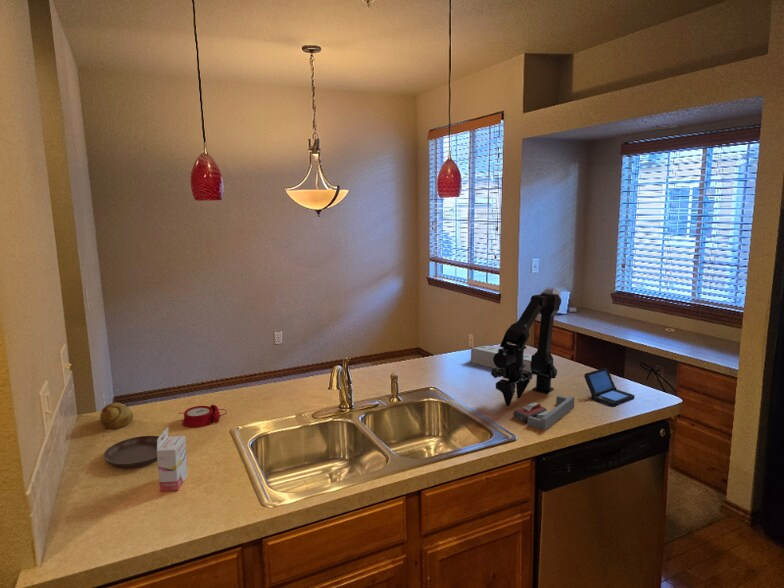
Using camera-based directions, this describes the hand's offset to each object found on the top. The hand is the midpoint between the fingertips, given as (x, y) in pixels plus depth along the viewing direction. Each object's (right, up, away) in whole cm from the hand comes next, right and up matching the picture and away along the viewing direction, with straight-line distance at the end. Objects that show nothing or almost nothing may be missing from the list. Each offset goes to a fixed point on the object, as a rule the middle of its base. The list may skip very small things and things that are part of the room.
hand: (513, 402), depth 190 cm
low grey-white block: (+8, +7, +46) cm, 47 cm away
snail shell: (-140, -4, -15) cm, 141 cm away
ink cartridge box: (-105, -11, -52) cm, 117 cm away
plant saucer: (-121, -9, -38) cm, 128 cm away
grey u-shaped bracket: (+12, -3, -9) cm, 15 cm away
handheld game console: (+39, 0, +8) cm, 40 cm away
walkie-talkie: (+7, -3, -8) cm, 11 cm away
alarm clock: (-111, -4, -13) cm, 112 cm away
